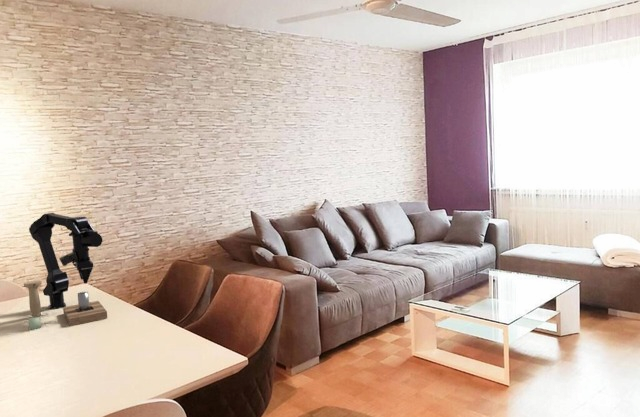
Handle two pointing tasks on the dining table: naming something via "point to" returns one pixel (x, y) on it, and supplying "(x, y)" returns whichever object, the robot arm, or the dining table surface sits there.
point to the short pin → (34, 323)
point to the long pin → (83, 301)
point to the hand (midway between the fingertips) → (84, 281)
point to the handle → (34, 297)
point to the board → (84, 313)
